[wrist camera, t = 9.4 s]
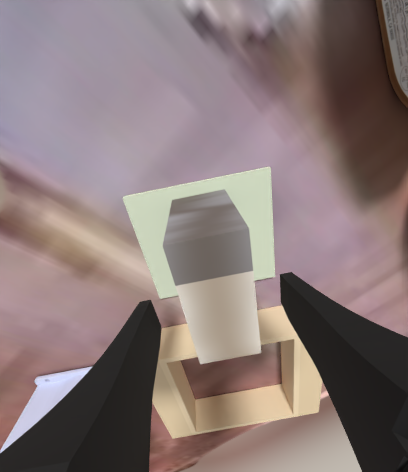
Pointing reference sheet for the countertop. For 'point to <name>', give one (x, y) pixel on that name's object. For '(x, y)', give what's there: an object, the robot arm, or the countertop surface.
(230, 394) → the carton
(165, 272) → the mat
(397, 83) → the tin
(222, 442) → the countertop surface
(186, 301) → the box
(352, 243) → the countertop surface
